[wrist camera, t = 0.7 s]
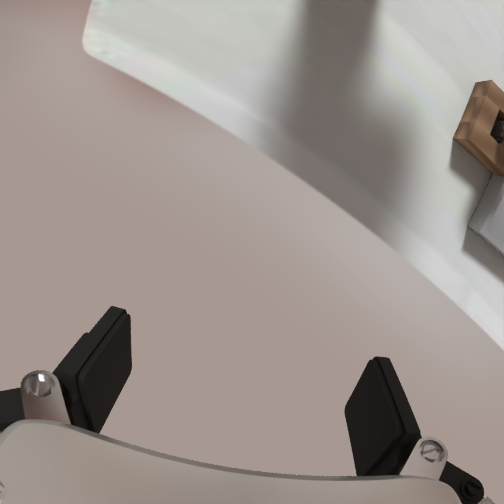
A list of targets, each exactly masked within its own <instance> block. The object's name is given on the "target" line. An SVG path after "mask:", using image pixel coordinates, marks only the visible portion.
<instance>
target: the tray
mask: <svg viewBox="0 0 504 504" xmlns="http://www.w3.org/2000/svg"><path fill="white" fill-rule="evenodd" d="M468 227H470V228H471V229H472V230H473V231H474V232H476V233H477V234H478V235H479V236H480V237H482V238H483V239H484V240H485V241H486V242H488V243H489V244H490V245H491V246H492V247H493V248H495V249H496V250H497V251H498V252H499V253H500V254H501V255H502V256H504V177H503V176H499V175H495V174H492V177H491V179H490V181H489V183H488V185H487V188H486V190H485V192H484V194H483V196H482V198H481V200H480V202H479V204H478V206H477V208H476V210H475V212H474V214H473V216H472V218H471V220H470V222H469V224H468Z"/></svg>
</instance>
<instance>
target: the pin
mask: <svg viewBox="0 0 504 504" xmlns="http://www.w3.org/2000/svg"><path fill="white" fill-rule="evenodd" d="M490 135H491V136H492V137H493V138H494V139H495V140H496V141H504V121H495V122H494V125H493V128H492V130H491V133H490Z"/></svg>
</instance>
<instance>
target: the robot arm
mask: <svg viewBox="0 0 504 504" xmlns="http://www.w3.org/2000/svg"><path fill="white" fill-rule="evenodd" d="M130 319H131V318H130V315H129V314H127V312H126V310H125V309H122V308H118V307H114V306H111V307H110V308H109V309H108V311H107V312H106V313H105V314H104V316H103V317H102V318H101V319H100V320H99V321H98V323H97V324H96V325H95V326H94V327H93V329H92V330H91V331H90V332H89V333H85V334H83V335H82V337H81V338H80V339H79V340H78V342H77V343H76V344H75V345H74V347H73V348H72V349H71V350H70V351H69V353H68V354H67V355H66V356H65V358H64V359H63V360H62V361H61V363H60V364H59V365H58V367H57V368H56V369H55V370H54V371H53V373H50V372H48V371H44V370H37V371H33V372H30V373H29V374H27V375H26V376H25V377H24V378H23V379H22V382H21V388H16V389H10V390H5V391H0V504H495V503H494V502H492V500H491V499H490V498H488V497H487V498H484V497H483V496H484V488H483V486H482V484H481V482H480V481H479V480H478V479H476V478H475V477H473V476H471V475H469V474H468V473H466V472H465V471H462V470H461V469H459V468H458V467H456V466H454V465H453V464H451V463H449V462H448V461H447V457H448V452H447V449H446V447H445V445H444V444H443V443H442V442H441V441H439V440H438V439H436V438H433V437H423V438H422V437H421V435H420V429H419V427H418V424H417V422H416V419H415V417H414V414H413V412H412V409H411V407H410V405H409V402H408V400H407V397H406V395H405V393H404V390H403V388H402V386H401V383H400V381H399V379H398V376H397V374H396V372H395V370H394V367H393V365H392V363H391V361H390V359H389V358H386V357H374V358H373V360H369V362H368V363H367V366H366V368H365V370H364V372H363V374H362V375H361V377H360V379H359V381H358V383H357V385H356V387H355V389H354V391H353V393H352V395H351V396H350V398H349V400H348V402H347V404H346V406H345V417H346V422H347V427H348V431H349V437H350V442H351V447H352V452H353V458H354V463H355V468H356V474H357V476H308V475H292V474H278V473H269V472H260V471H252V470H244V469H238V468H231V467H225V466H219V465H214V464H208V463H203V462H198V461H194V460H189V459H185V458H180V457H176V456H172V455H168V454H164V453H160V452H156V451H153V450H149V449H145V448H142V447H139V446H136V445H132V444H129V443H126V442H122V441H119V440H116V439H113V438H110V437H107V436H104V435H101V434H99V433H100V431H101V429H102V427H103V425H104V423H105V421H106V419H107V417H108V416H109V414H110V412H111V410H112V408H113V406H114V404H115V402H116V400H117V398H118V396H119V394H120V392H121V390H122V388H123V386H124V384H125V383H126V381H127V379H128V377H129V375H130V373H131V369H132V359H131V358H132V357H131V320H130Z"/></svg>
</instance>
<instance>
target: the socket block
mask: <svg viewBox="0 0 504 504" xmlns="http://www.w3.org/2000/svg"><path fill="white" fill-rule="evenodd" d="M495 121H504V92H503V91H502V90H501V89H500V88H499V87H498V86H497V85H496V84H495V83H494V82H493V81H492V80H488V81H482V82H477V83H475V86H474V88H473V91H472V94H471V96H470V99H469V101H468V104H467V106H466V109H465V111H464V114H463V116H462V119H461V121H460V123H459V126H458V128H457V130H456V133H455V135H454V137H453V139H454V140H456V141H457V142H458V143H459V144H460V145H462V146H463V147H464V148H465V149H466V150H467V151H468V152H470V153H471V154H472V155H473V156H474V157H475V158H476V159H477V160H479V161H480V162H481V163H482V164H483V165H484V166H485V167H486V168H487V169H488V170H489V171H490V172H491V173H492V174H495V175H499V176H503V177H504V141H496V140H495V139H494V138H493V137H492V136H491V135H490V133H491V130H492V128H493V125H494V122H495Z"/></svg>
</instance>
